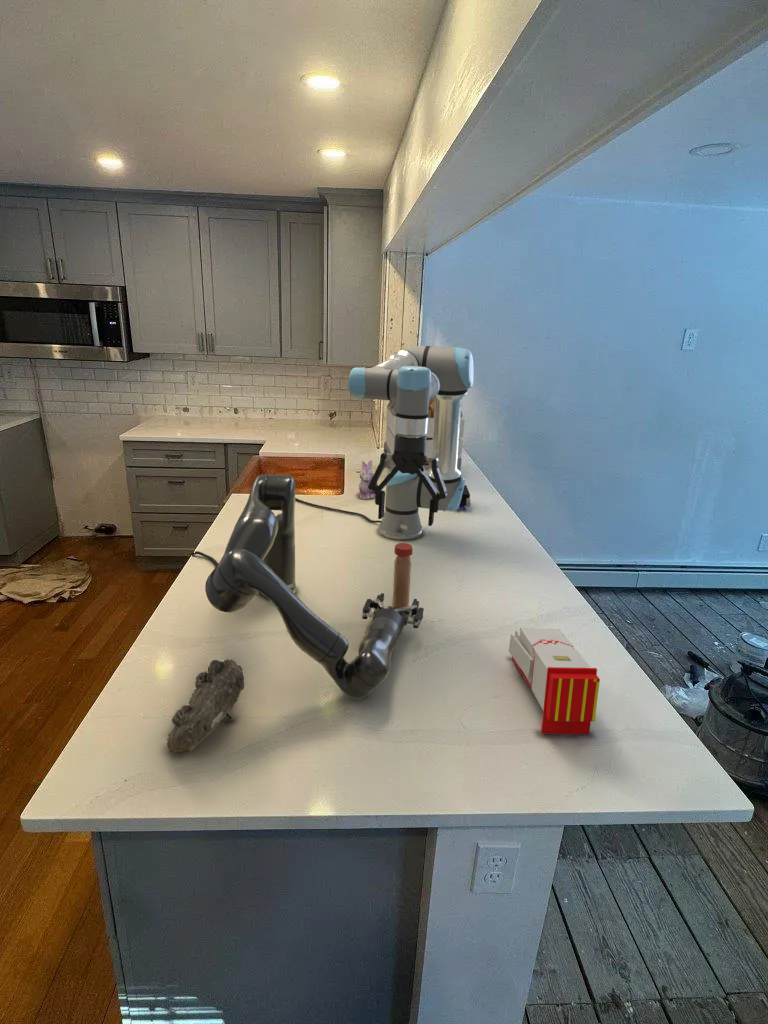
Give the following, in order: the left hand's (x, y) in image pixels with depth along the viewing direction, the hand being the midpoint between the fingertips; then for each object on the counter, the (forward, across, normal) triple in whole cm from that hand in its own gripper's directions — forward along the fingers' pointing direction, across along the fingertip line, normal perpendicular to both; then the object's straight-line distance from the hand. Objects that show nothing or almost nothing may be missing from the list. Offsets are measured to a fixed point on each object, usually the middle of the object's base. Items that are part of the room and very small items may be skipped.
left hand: (399, 599), depth 143 cm
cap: (+4, 0, +13) cm, 13 cm away
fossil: (-47, -26, -6) cm, 54 cm away
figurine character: (+94, +5, -6) cm, 94 cm away
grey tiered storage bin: (+137, -20, -6) cm, 138 cm away
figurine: (+93, -34, -6) cm, 100 cm away
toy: (-19, +36, -5) cm, 41 cm away
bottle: (+4, 0, -6) cm, 7 cm away
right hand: (+4, 0, +20) cm, 20 cm away
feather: (+57, -58, -6) cm, 82 cm away
